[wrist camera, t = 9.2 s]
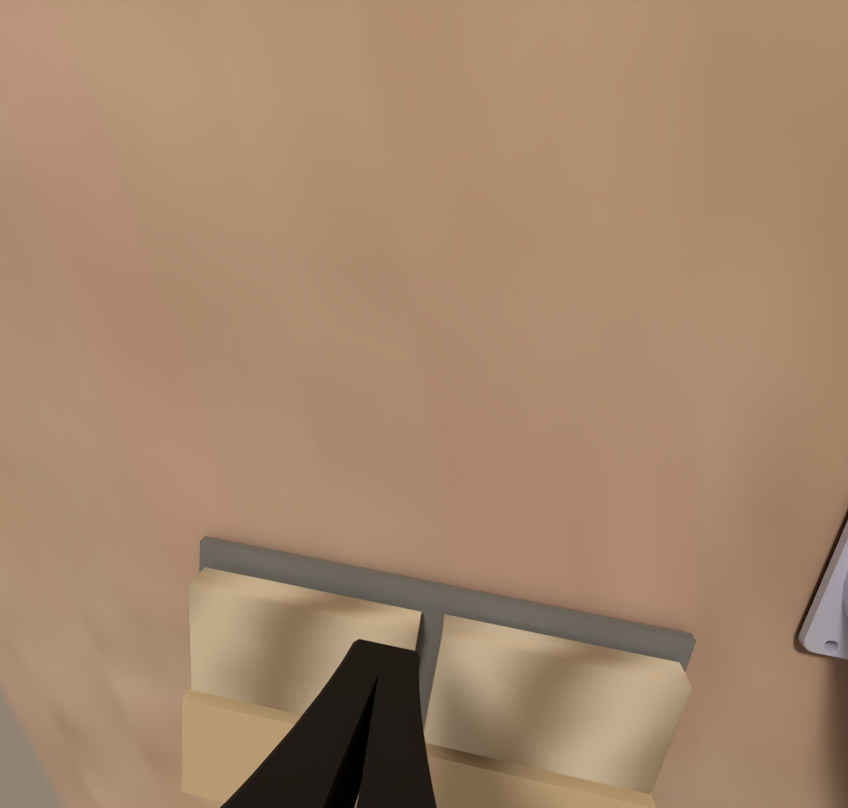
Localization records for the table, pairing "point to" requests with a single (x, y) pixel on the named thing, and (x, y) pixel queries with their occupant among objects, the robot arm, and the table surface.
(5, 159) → the table surface
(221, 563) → the floor base
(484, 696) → the plank
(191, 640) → the plank
